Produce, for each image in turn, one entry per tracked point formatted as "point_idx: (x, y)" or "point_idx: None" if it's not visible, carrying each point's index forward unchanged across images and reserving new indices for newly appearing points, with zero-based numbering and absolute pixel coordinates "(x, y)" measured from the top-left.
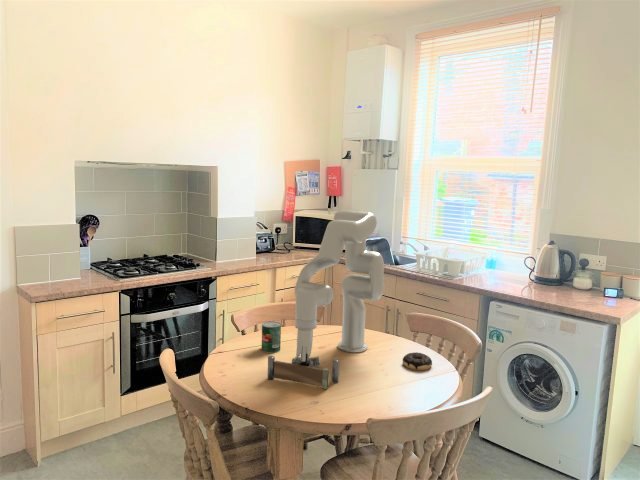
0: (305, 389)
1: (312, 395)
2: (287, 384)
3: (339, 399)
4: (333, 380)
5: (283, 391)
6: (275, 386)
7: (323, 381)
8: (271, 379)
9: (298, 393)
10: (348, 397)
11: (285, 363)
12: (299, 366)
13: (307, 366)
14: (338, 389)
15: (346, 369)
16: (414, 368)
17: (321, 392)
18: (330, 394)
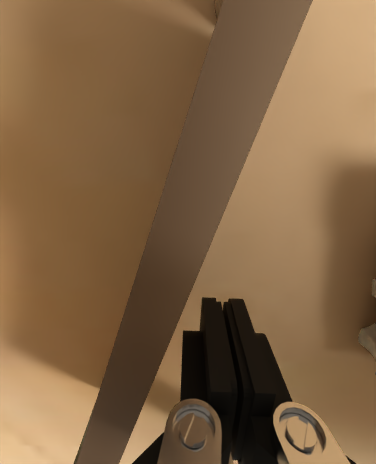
0: (85, 296)
1: (16, 332)
2: (141, 176)
3: (17, 432)
4: None
5: (11, 155)
6: (84, 75)
7: (86, 428)
8: (216, 11)
9: (15, 259)
10: (50, 458)
11: (182, 166)
12: (105, 373)
13: (117, 447)
14: None
15: (362, 460)
16: None
17: (69, 370)
18: (58, 403)
